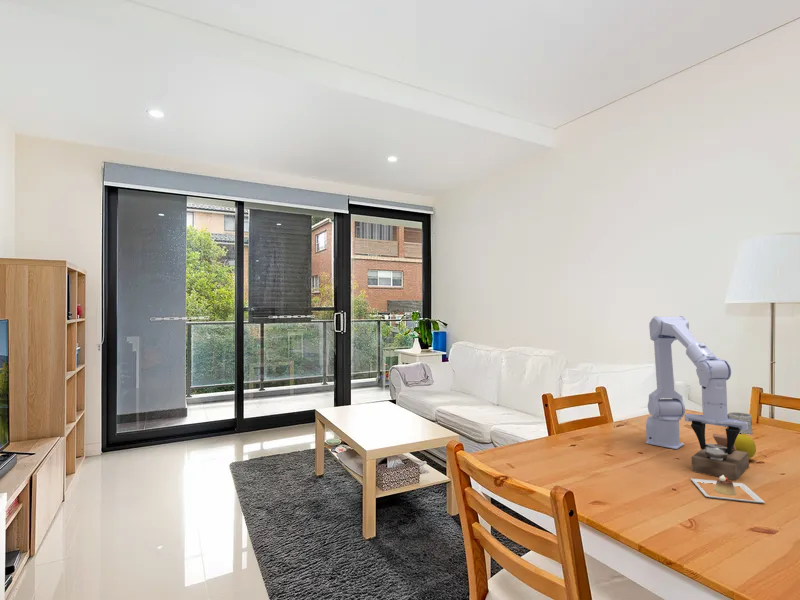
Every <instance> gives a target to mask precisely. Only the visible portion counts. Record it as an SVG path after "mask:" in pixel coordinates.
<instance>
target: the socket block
mask: <svg viewBox="0 0 800 600" xmlns="http://www.w3.org/2000/svg"><path fill="white" fill-rule="evenodd" d="M749 460H750V459H749V458H748V452H742V451H737V450H733V451H732V454H731V455H730V454H728V457H727V458H723V461H720V460H715V459H710V456H707V455H705V449H701V448H700V450H699V451H697V452H696V453H695V454H693V455H692V456H691V471H692V472H694V471H696V472H695V473H699V472H700V474H703V473H705V475H708V474H709V475H708V476H712V475H713V477H717V478H719V477H720V476H722V475H724V476H725V477H727V478H728V480H730V481H737V480H738V479H739V478H740V477H741V476H742V475H743V474H744V472H745V471H746V470H747V469H748V468H749V466H750V464H749V463H750V461H749Z"/></svg>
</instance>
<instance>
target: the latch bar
mask: <svg viewBox="0 0 800 600" xmlns="http://www.w3.org/2000/svg"><path fill="white" fill-rule="evenodd" d="M712 437H713V440H714V441H715V444H718V445H723V446H726V447H727V435H726V434H725V435H724V434H720V433H712ZM733 450H736V447H735V445H734V446H733Z"/></svg>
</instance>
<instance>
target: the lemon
mask: <svg viewBox="0 0 800 600" xmlns="http://www.w3.org/2000/svg"><path fill="white" fill-rule="evenodd" d="M734 445H735V447H736V450H737V451H742V452H748V459H751V458H753V457H754V456H755V454H756V452H757V445H756V443H755V440H754V439H753V438H752V437H751V436H750V435H746V434H738V436H737V438H736V440H735V443H734Z"/></svg>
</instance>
